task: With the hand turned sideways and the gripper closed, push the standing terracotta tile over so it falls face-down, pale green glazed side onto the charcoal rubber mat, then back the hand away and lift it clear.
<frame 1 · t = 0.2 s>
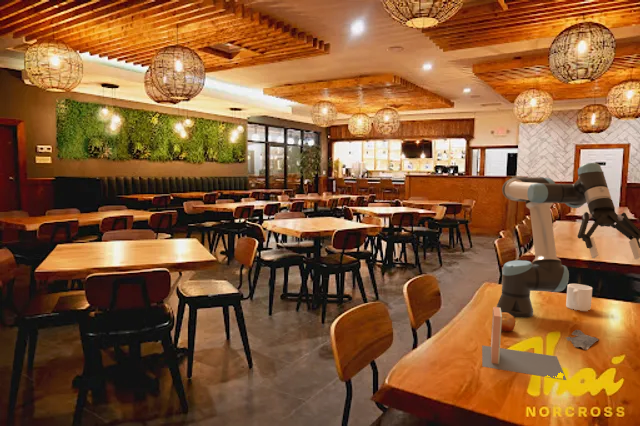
hand: (616, 257, 141), 36 cm above the table, tool tilted 35°, fingers open, 13 cm apart
terracotta tile: (494, 357, 145), resting on rubber mat
fruit: (503, 330, 171), on the table
rubber mat: (520, 362, 142), on the table
stone slab: (580, 342, 162), on the table
mug: (577, 308, 200), on the table
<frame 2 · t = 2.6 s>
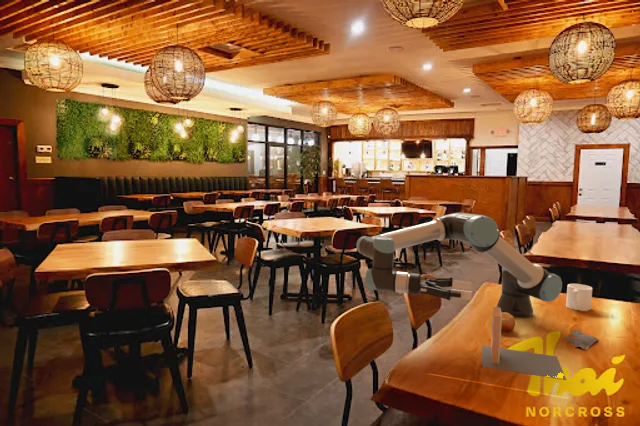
hand: (471, 290, 145), 23 cm above the table, tool horizontal, fingers open, 13 cm apart
nothing on the table moved.
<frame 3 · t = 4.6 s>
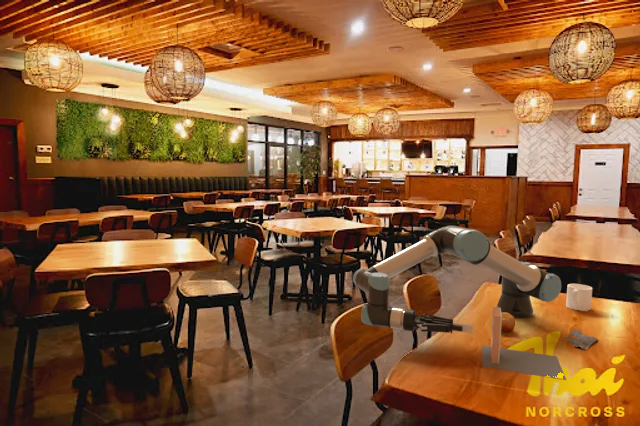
hand: (472, 329, 146), 9 cm above the table, tool horizontal, fingers closed
nothing on the table moved.
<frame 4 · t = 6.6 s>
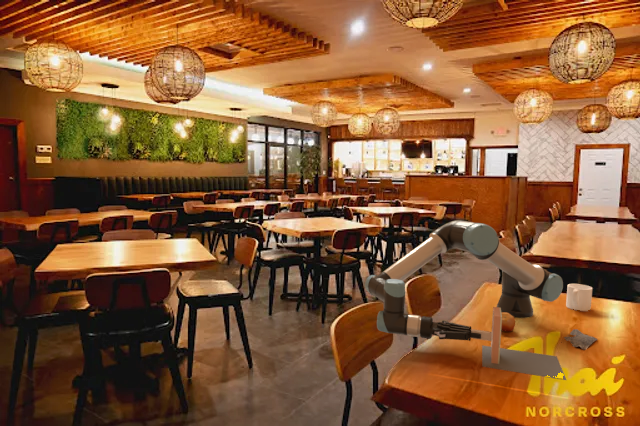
hand: (491, 336, 144), 8 cm above the table, tool horizontal, fingers closed
terracotta tile: (494, 357, 145), resting on rubber mat, touching gripper
everything else where it was.
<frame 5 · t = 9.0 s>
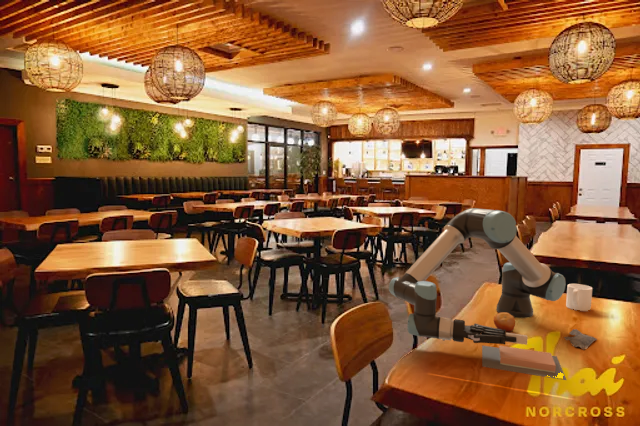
hand: (527, 340, 141), 8 cm above the table, tool horizontal, fingers closed
terracotta tile: (499, 354, 144), point 2 cm above the table, tilted 90°, touching rubber mat
everything else where it was.
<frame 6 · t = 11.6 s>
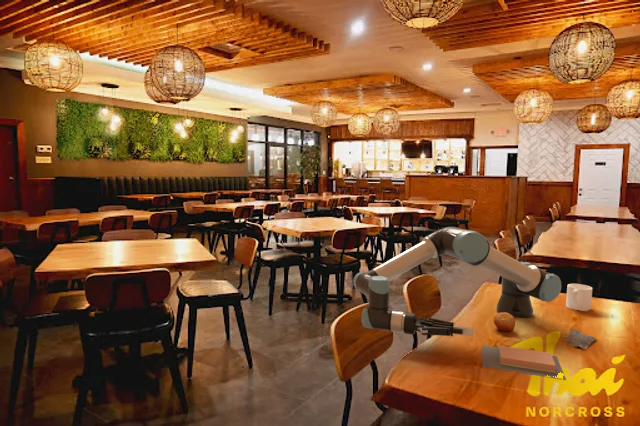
hand: (473, 332, 147), 8 cm above the table, tool horizontal, fingers closed
nothing on the table moved.
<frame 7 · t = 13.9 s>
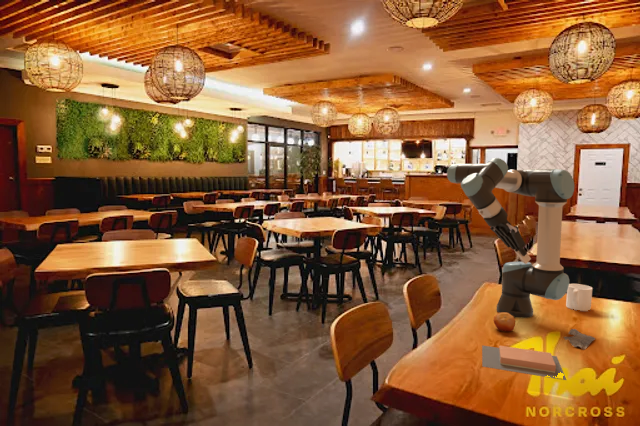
hand: (527, 261, 156), 31 cm above the table, tool tilted 40°, fingers closed
nothing on the table moved.
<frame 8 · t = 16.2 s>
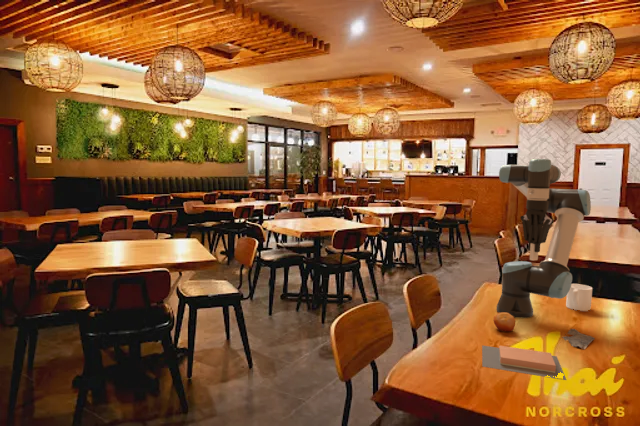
hand: (533, 259, 166), 29 cm above the table, tool pointing down, fingers closed
at the end: terracotta tile tilted 90°; terracotta tile touching rubber mat; terracotta tile inside the target area on the rubber mat (1.6 cm from its centre), point 1.6 cm above the rubber mat's base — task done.
